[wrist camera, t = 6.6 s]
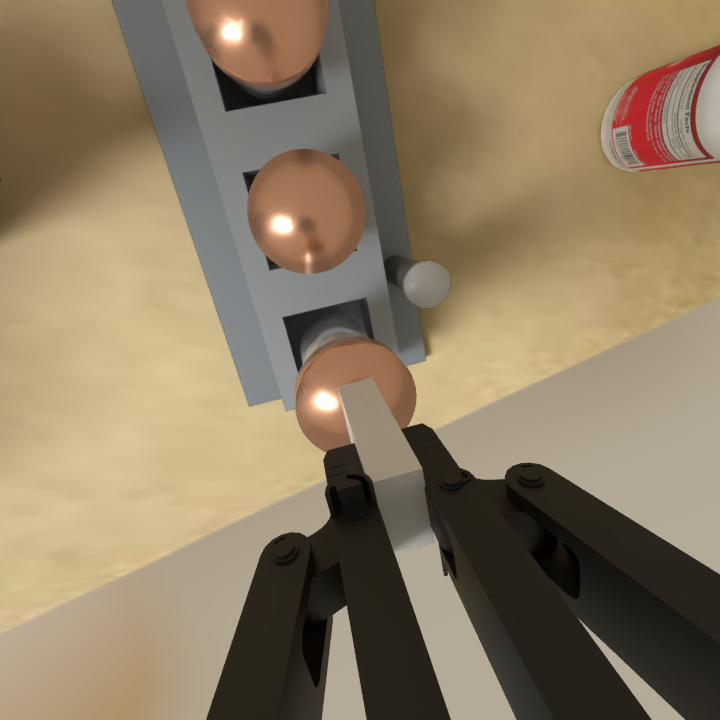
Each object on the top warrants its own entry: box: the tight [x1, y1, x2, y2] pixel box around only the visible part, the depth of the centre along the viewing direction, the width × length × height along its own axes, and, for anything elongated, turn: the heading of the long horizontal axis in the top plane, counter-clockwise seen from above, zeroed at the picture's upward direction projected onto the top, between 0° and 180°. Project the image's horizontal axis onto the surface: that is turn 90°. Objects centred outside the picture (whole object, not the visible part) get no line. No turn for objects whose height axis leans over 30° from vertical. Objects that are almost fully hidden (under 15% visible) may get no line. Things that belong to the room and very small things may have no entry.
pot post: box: [384, 255, 451, 308], centre depth 26 cm, size 3×3×7 cm
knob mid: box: [247, 149, 366, 274], centre depth 23 cm, size 5×5×8 cm
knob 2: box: [294, 313, 416, 452], centre depth 22 cm, size 5×5×8 cm
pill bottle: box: [600, 45, 720, 172], centre depth 24 cm, size 6×6×11 cm
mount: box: [111, 0, 426, 411], centre depth 25 cm, size 14×25×5 cm, turn 11°
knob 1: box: [186, 0, 328, 107], centre depth 20 cm, size 5×5×8 cm
